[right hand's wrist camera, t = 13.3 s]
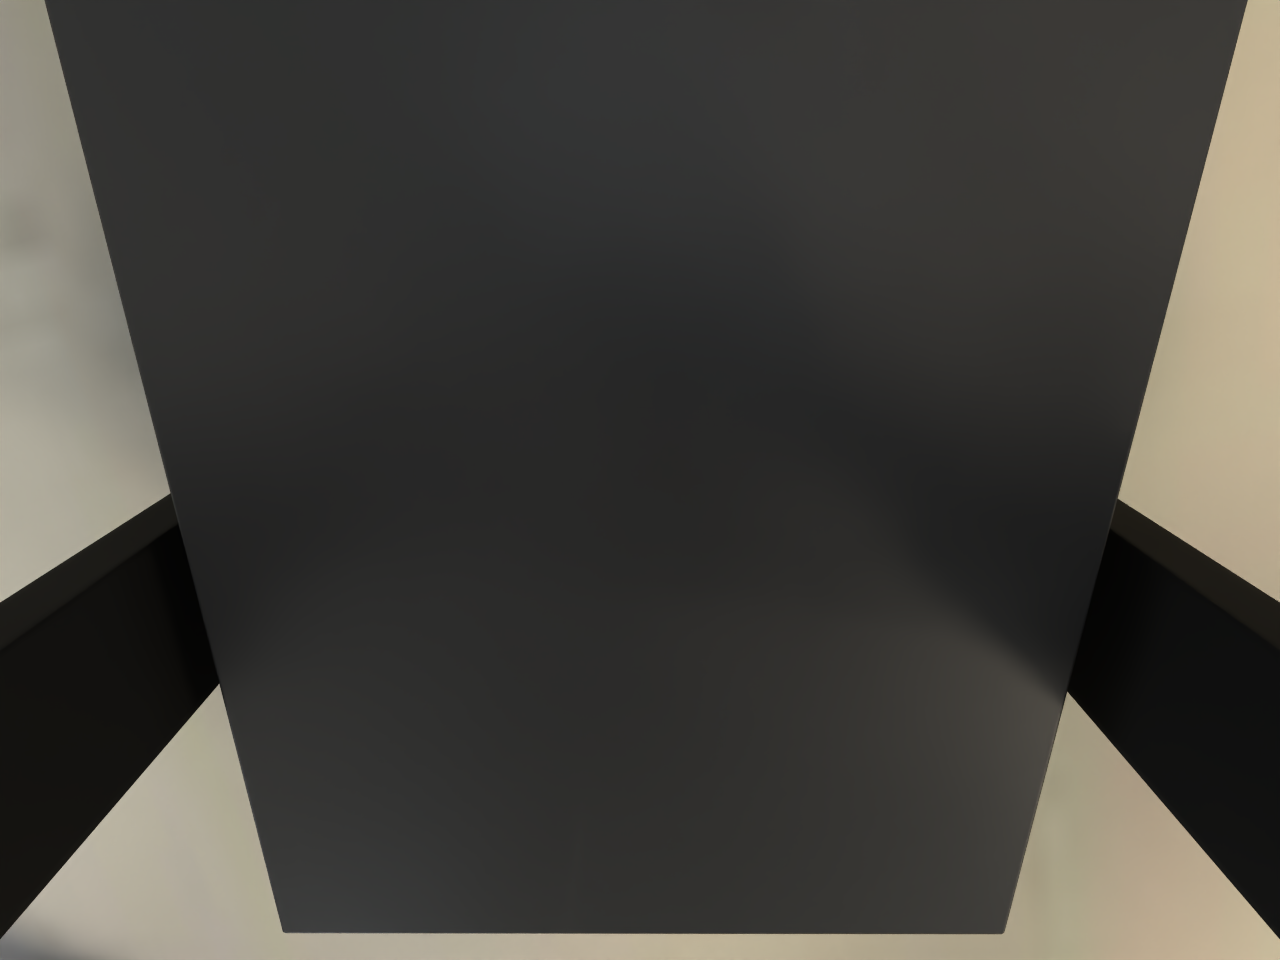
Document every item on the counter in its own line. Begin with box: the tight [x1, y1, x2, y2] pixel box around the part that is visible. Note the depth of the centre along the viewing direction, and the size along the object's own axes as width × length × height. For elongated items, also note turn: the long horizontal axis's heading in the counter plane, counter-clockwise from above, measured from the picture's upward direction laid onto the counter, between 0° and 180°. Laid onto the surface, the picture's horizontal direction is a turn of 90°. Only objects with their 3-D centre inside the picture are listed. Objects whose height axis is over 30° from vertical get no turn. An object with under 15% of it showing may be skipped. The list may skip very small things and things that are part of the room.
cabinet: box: [45, 0, 1248, 934], centre depth 12 cm, size 16×11×8 cm
